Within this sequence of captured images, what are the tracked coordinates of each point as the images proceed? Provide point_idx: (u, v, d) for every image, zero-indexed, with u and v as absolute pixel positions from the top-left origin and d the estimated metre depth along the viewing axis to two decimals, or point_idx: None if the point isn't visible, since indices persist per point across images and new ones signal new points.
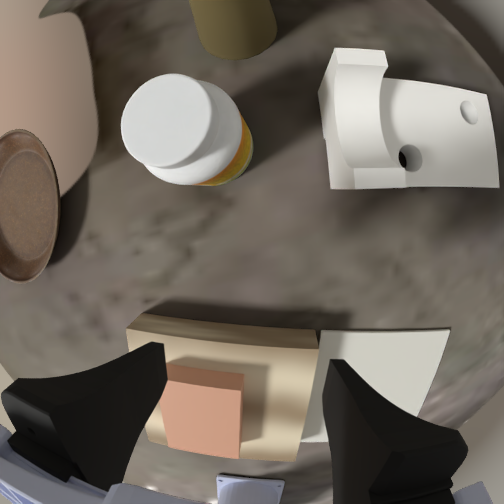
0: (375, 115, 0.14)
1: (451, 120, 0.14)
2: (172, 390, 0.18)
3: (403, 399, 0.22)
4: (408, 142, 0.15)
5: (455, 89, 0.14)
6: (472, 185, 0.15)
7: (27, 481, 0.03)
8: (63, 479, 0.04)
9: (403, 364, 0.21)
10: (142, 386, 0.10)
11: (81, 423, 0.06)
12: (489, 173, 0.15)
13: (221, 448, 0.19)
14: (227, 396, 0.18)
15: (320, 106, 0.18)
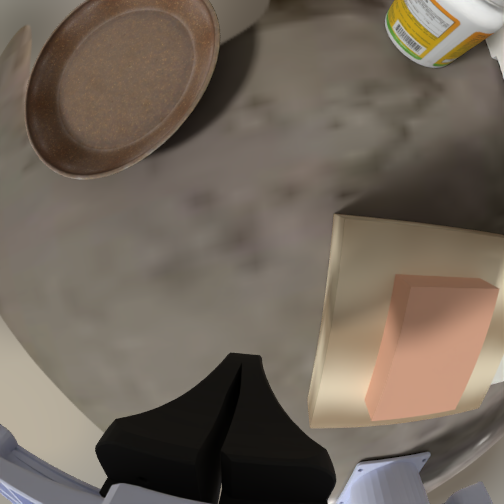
0: None
1: None
2: (428, 305, 0.12)
3: None
4: None
5: None
6: None
7: (27, 481, 0.03)
8: (63, 479, 0.04)
9: None
10: (233, 402, 0.09)
11: (208, 459, 0.05)
12: None
13: (445, 397, 0.13)
14: (486, 300, 0.11)
15: None
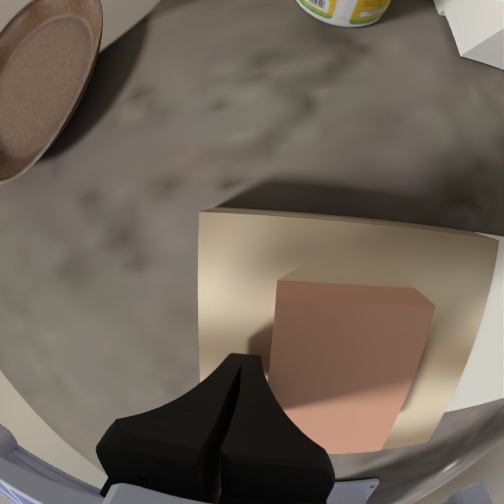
0: None
1: None
2: (308, 325, 0.10)
3: None
4: None
5: None
6: None
7: (27, 481, 0.03)
8: (63, 479, 0.04)
9: None
10: (233, 402, 0.09)
11: (209, 459, 0.05)
12: None
13: (361, 437, 0.11)
14: (412, 321, 0.09)
15: None
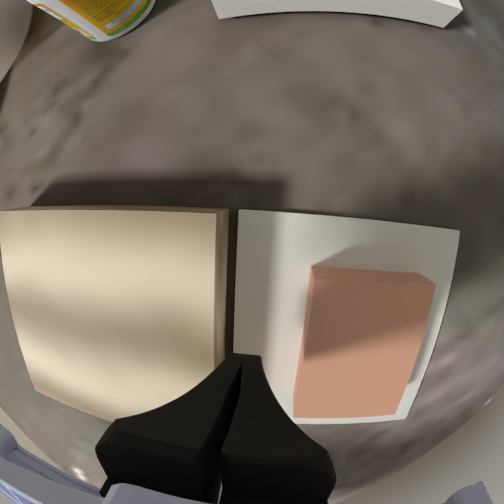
0: None
1: None
2: None
3: None
4: None
5: None
6: None
7: (27, 481, 0.03)
8: (63, 479, 0.04)
9: None
10: (233, 402, 0.09)
11: (208, 459, 0.05)
12: None
13: None
14: None
15: None
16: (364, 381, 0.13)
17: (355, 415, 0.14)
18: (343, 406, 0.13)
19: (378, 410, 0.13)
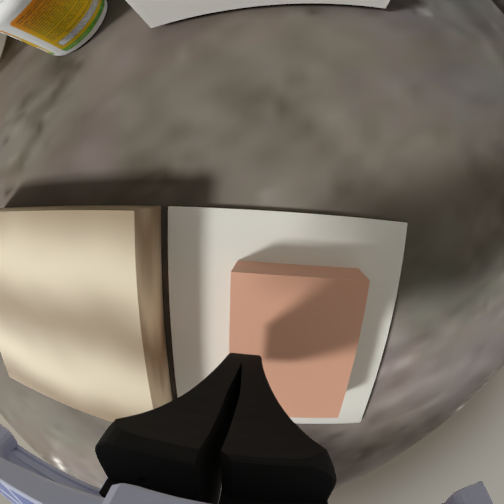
0: None
1: None
2: None
3: None
4: None
5: None
6: None
7: (27, 481, 0.03)
8: (63, 479, 0.04)
9: None
10: (233, 402, 0.09)
11: (208, 459, 0.05)
12: None
13: None
14: None
15: None
16: (296, 380, 0.13)
17: (292, 415, 0.14)
18: None
19: (318, 411, 0.14)
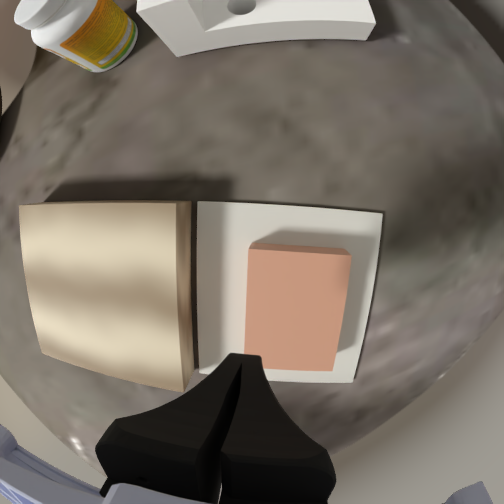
0: None
1: None
2: None
3: None
4: None
5: None
6: (329, 19, 0.13)
7: (27, 481, 0.03)
8: (63, 479, 0.04)
9: None
10: (233, 402, 0.09)
11: (208, 459, 0.05)
12: (356, 9, 0.12)
13: None
14: None
15: None
16: (297, 336, 0.18)
17: (295, 368, 0.18)
18: (283, 358, 0.18)
19: (316, 365, 0.18)
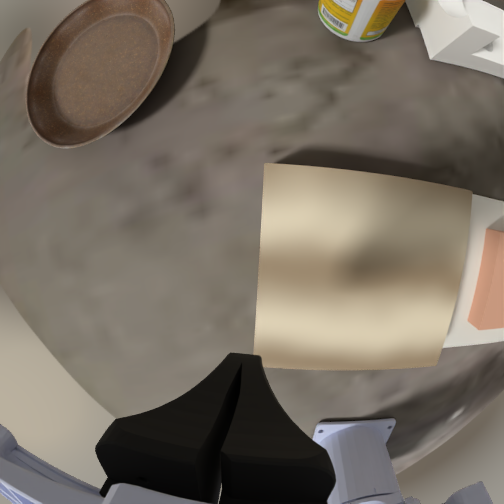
0: (460, 3, 0.10)
1: (503, 27, 0.11)
2: None
3: None
4: None
5: (500, 9, 0.10)
6: None
7: (27, 481, 0.03)
8: (63, 479, 0.04)
9: None
10: (233, 402, 0.09)
11: (208, 459, 0.05)
12: None
13: None
14: None
15: (408, 4, 0.14)
16: None
17: None
18: (501, 318, 0.17)
19: None
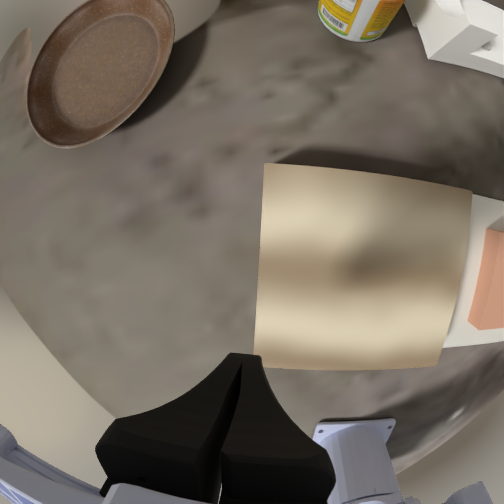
0: (458, 2, 0.10)
1: (501, 26, 0.11)
2: None
3: None
4: None
5: (498, 9, 0.10)
6: None
7: (27, 481, 0.03)
8: (63, 479, 0.04)
9: None
10: (233, 402, 0.09)
11: (208, 459, 0.05)
12: None
13: None
14: None
15: (406, 4, 0.14)
16: None
17: None
18: (501, 318, 0.17)
19: None
